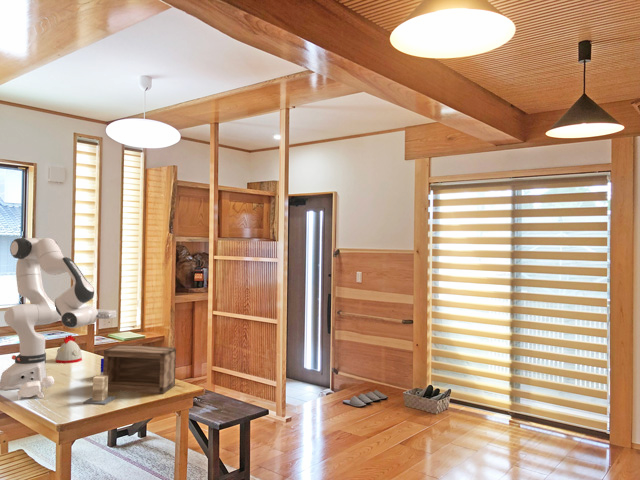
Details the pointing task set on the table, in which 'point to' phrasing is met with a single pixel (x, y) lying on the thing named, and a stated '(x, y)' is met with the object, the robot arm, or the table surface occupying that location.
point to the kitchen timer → (69, 351)
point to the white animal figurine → (35, 388)
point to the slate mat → (109, 398)
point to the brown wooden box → (140, 368)
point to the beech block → (100, 388)
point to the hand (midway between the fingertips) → (103, 311)
